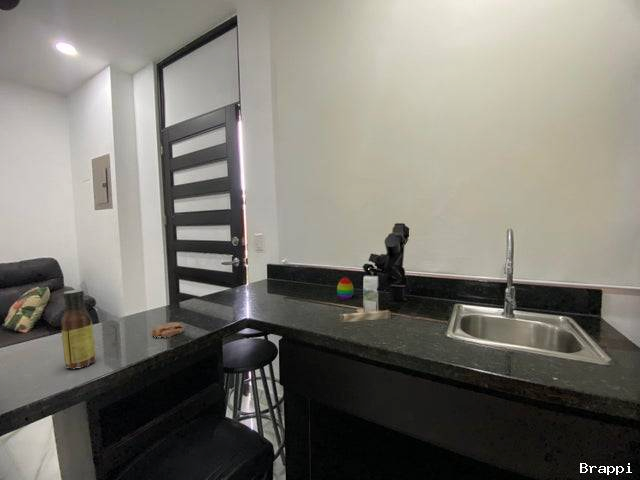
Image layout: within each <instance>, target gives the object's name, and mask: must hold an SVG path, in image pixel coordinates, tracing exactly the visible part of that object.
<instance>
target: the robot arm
mask: <svg viewBox="0 0 640 480" xmlns="http://www.w3.org/2000/svg"><path fill="white" fill-rule="evenodd" d="M409 230H410V227H408V226H407V225H406V223H404V222H401V223H400V222H399V223H398V222H396V223H394V226H393V227H392V230H391V231H392V232H390V233H388V235H387V236H386V238H385V239H384V246H385V250H386V253H381V254H377V253H370V255H369V258H368V262H371V263H373V264H374V265H373V264H371V263H364V264H363V266H361V267H362V268H363V272H364V276H378V275H382V276H383V278H382V280H381V282H380V283H378V288H377V291H378V292H381V291H382V290H384V289H386V288H390V290H389V297H388V298H387V299H388V300H390V301H392V302H396V303H400V302H406V301H408V299H407V298H406V294H405V293H406V290H407V289H409V278H408V277H407V275H406V271H405V267H404V258H405V246H406V245H407V244H408V243H407V241H408V242H409V238H408V237H409ZM406 243H407V244H406ZM361 286H362V287H363V283H362V285H361Z"/></svg>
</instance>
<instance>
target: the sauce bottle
mask: <svg viewBox="0 0 640 480" xmlns="http://www.w3.org/2000/svg"><path fill="white" fill-rule="evenodd" d="M84 295H85V292H84V289H72V290H67V291H64V292H63V296H62V297H63V299H64V305H65V307H64V308H65V310H64V312H63V315H62V317H61V318H60V324H61V338H62V347H63V358H64V363H65V368H66V367H68V368H76V367H82V366H86V365H88V364H90V363H92V362H93V361H94V360H96V347H95V337H94V330H93V329H94V328H93V327H94V326H93V320H92V317H91V315H90V313H89V311H88V309H87V308H86V305H85V301H84ZM94 362H95V361H94ZM94 362H93V363H94ZM93 363H92V364H93ZM90 365H91V364H90ZM88 366H89V365H88ZM86 367H87V366H86Z"/></svg>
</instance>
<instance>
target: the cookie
mask: <svg viewBox="0 0 640 480" xmlns="http://www.w3.org/2000/svg"><path fill="white" fill-rule="evenodd" d="M184 331H185V329H184V326H183V325H182V323H181V322H177V321H171V322H166V323H164V324H163V323H162V324H159V325H158V326H156V327H154V328H153V329H152V332H151V336H152V337H153V336H155V337H158V336H161V337H168V336H171V335H174V334H177V333H180V332H183V333H184ZM155 337H154V338H155Z"/></svg>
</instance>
